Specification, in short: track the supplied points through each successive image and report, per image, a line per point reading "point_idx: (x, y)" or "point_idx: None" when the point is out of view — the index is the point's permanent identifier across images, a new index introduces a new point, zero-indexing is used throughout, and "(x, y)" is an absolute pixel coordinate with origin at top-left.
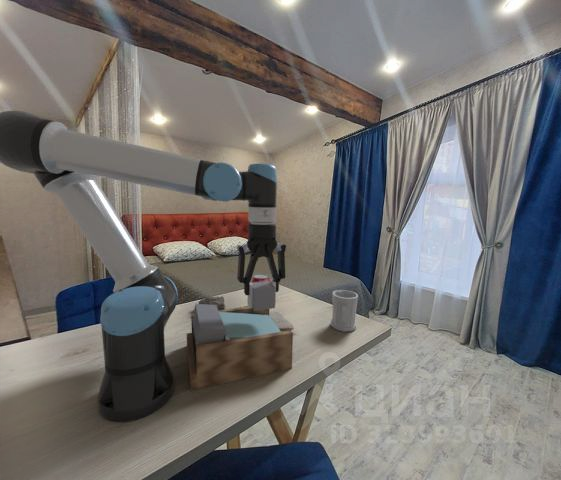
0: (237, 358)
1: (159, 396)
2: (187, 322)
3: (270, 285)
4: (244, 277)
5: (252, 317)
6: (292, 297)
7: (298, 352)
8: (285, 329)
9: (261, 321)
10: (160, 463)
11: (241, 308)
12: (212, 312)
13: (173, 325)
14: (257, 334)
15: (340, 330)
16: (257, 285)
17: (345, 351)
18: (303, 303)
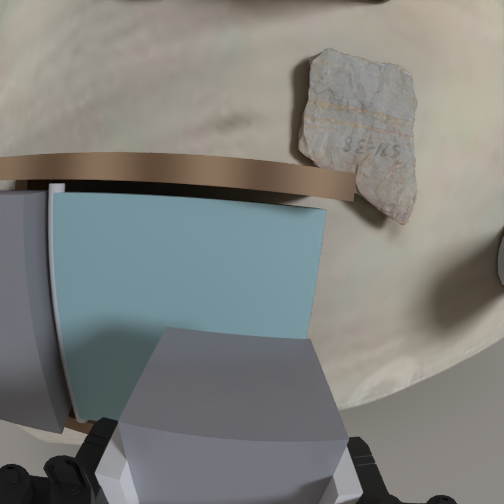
0: None
1: None
2: (79, 12)
3: None
4: (51, 501)
5: (221, 251)
6: (482, 2)
7: (343, 336)
8: (379, 209)
9: (253, 295)
10: (48, 439)
11: (180, 169)
12: (4, 300)
13: (43, 28)
14: None
15: (499, 277)
16: (187, 494)
17: (439, 366)
18: (501, 56)
